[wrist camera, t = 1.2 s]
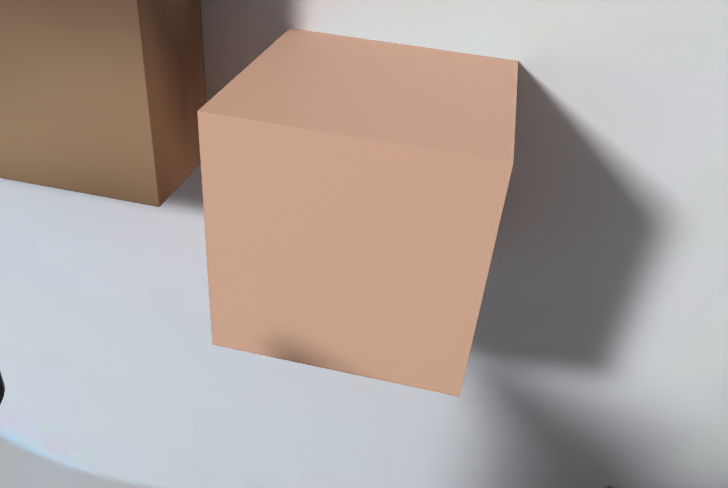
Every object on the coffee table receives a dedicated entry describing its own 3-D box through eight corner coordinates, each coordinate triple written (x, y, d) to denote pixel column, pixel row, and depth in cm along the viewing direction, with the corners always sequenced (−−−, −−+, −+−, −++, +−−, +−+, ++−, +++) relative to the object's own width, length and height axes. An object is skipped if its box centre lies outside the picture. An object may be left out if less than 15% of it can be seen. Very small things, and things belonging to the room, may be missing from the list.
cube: (477, 253, 18) (459, 396, 14) (287, 219, 19) (212, 344, 15) (518, 60, 15) (513, 162, 11) (290, 27, 16) (197, 111, 12)
